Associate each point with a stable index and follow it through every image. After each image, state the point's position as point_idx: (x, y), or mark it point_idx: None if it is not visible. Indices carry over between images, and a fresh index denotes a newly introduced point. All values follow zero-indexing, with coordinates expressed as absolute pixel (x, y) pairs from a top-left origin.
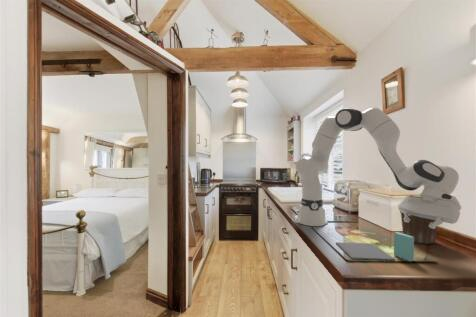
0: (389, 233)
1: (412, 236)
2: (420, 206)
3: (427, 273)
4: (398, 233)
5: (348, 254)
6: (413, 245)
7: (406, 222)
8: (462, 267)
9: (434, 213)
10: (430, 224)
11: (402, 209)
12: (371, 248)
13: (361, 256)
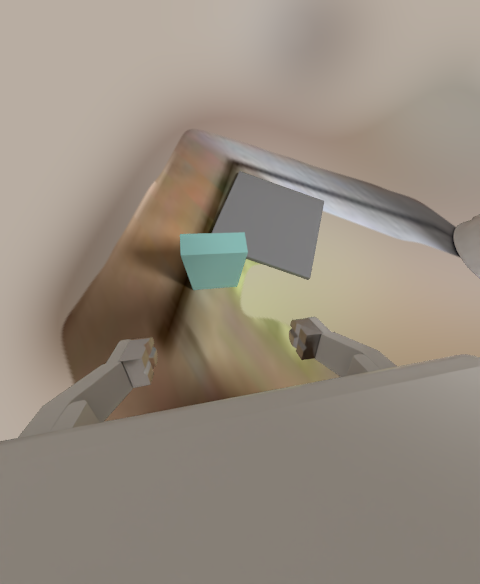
0: None
1: (186, 254)
2: (355, 520)
3: (130, 251)
4: (232, 237)
5: (255, 177)
6: (186, 269)
7: None
8: None
9: (71, 454)
10: (138, 342)
11: (429, 363)
12: (277, 245)
13: (239, 189)
